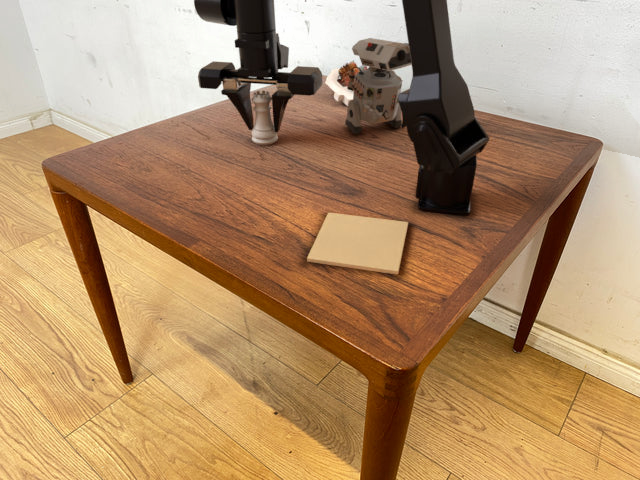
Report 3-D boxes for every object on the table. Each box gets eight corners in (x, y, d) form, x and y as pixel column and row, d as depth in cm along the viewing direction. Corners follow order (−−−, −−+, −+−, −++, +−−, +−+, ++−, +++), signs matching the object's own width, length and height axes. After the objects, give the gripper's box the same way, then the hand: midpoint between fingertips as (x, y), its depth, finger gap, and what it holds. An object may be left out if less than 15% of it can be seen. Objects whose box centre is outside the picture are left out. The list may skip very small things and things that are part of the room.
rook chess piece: (248, 137, 83) (244, 90, 78) (274, 133, 84) (270, 87, 80) (255, 147, 79) (251, 99, 75) (281, 143, 81) (278, 95, 76)
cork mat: (408, 225, 59) (408, 221, 59) (398, 275, 52) (398, 271, 51) (328, 215, 62) (328, 212, 61) (307, 261, 54) (306, 258, 53)
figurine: (369, 148, 79) (374, 51, 70) (342, 124, 88) (343, 35, 79) (419, 140, 81) (429, 45, 73) (387, 117, 90) (393, 30, 82)
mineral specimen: (357, 73, 107) (362, 43, 101) (391, 103, 101) (399, 73, 96) (312, 88, 102) (315, 57, 96) (345, 120, 96) (350, 89, 91)
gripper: (330, 21, 76) (330, 117, 85) (220, 17, 80) (231, 110, 89) (311, 36, 68) (314, 142, 76) (189, 31, 72) (204, 132, 80)
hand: (264, 130), depth 81 cm, fingers closed on rook chess piece, 4 cm apart
